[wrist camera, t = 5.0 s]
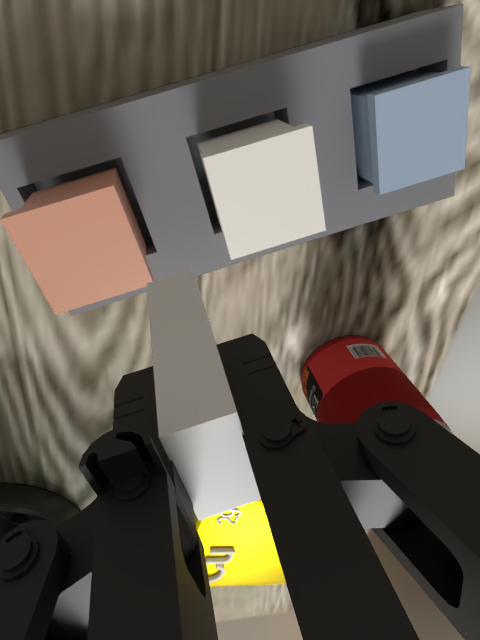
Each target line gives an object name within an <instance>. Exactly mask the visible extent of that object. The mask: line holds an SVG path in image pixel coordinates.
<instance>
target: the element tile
mask: <svg viewBox="0 0 480 640" xmlns="http://www.w3.org/2000/svg"><path fill="white" fill-rule="evenodd" d="M194 516H195V523H196V530H197V532H198V534H199V536H200V539H201V541H202V544H203V546H204V553H205V559H206V565H207V572H208V578H209V584H210V587H215V586H243V585H272V584H286V581H285V577H284V574H283V571H282V567H281V564H280V561H279V557H278V554H277V551H276V547H275V544H274V541H273V537H272V534H271V531H270V527H269V524H268V521H267V517H266V514H265V511H264V507H263V504H262V501H261V500H258V501H255V502H252V503H249V504H247V505H244V506H241V507H238V508H235V509H232V510H229V511H226V512H223V513H220V514H218V515H215V516H212V517H209V518H206V519H203V520H200V521H199V520H198V518H197V516H196V514H195V512H194Z"/></svg>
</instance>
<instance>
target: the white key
mask: <svg viewBox="0 0 480 640" xmlns="http://www.w3.org/2000/svg"><path fill="white" fill-rule="evenodd" d="M197 145H198V149H199V152H200V156H201V160H202V163H203V167H204V170H205V174H206V177H207V181H208V185H209V188H210V192H211V195H212V199H213V202H214V206H215V210H216V213H217V217H218V220H219V223H220V226H221V230H222V233H223V237H224V240H225V244H226V247H227V251H228V254H229V257H230V259H231V260H233V259H236V258H239V257H242V256H246V255H249V254H252V253H255V252H258V251H262V250H265V249H268V248H271V247H274V246H278V245H281V244H284V243H287V242H290V241H294V240H297V239H300V238H303V237H306V236H310V235H313V234H316V233H319V232H322V231H326V227H325V219H324V211H323V204H322V196H321V188H320V181H319V173H318V166H317V158H316V150H315V143H314V135H313V127H312V125H310V124H307V123H305V124H301V125H298V126H295V127H293V126H291V125H289V124H287V123H284V122H282V121H280V120H278V119H275V120H272V121H269V122H265V123H262V124H259V125H255V126H252V127H249V128H245V129H242V130H239V131H235V132H232V133H229V134H225V135H222V136H219V137H215V138H212V139H209V140H205V141H202V142H199V143H197Z"/></svg>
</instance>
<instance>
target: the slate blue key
mask: <svg viewBox="0 0 480 640" xmlns="http://www.w3.org/2000/svg"><path fill="white" fill-rule="evenodd" d="M470 71H471V67H462V66H460V67H457V68H454V69H450V70H447V71H444V72H440V73H439V72H421V71H410V72H406V73H403V74H400V75H396V76H393V77H390V78H386V79H383V80H380V81H376V82H373V83H370V84H366V85H363V86H359V87H356V88H353V89H350V96H351V108H352V120H353V133H354V145H355V157H356V170H357V175H358V176H360V177H362V178H364V179H366V180H368V181H370V182H371V183H373V191H374V192H375V193H377V194H379V195H382V194H385V193H388V192H391V191H395V190H398V189H401V188H404V187H407V186H411V185H414V184H417V183H420V182H424V181H427V180H430V179H433V178H436V177H440V176H443V175H446V174H449V173H453V172H456V171H459V170H462V169H465V154H466V138H467V121H468V104H469V88H470Z"/></svg>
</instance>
